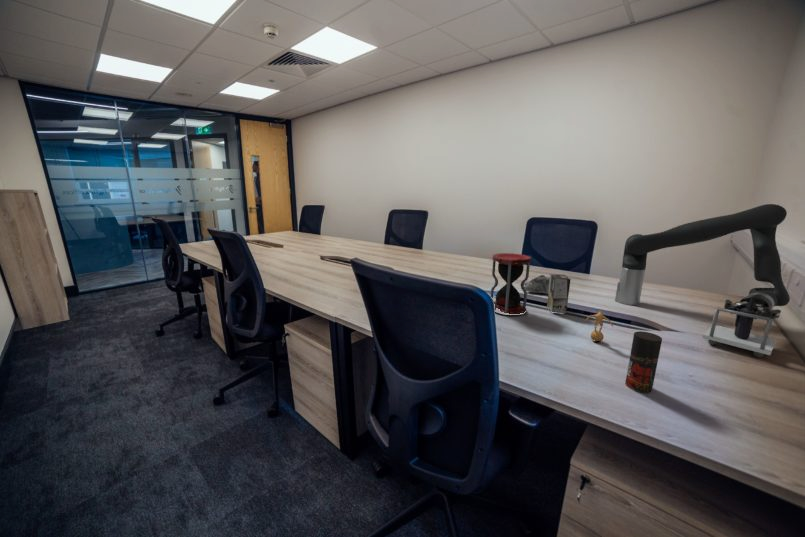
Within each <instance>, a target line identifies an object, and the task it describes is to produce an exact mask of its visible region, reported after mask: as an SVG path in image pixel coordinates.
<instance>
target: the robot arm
mask: <svg viewBox="0 0 805 537" xmlns="http://www.w3.org/2000/svg"><path fill="white" fill-rule="evenodd" d="M787 213H788V212H787V210H786V208H785V207H783V206H782V205H780V204H774V203H769V204H768V203H767V204H761V205H758V206H756V207H753V208H750V209H746V210H742V211H740V212H739V211H738V212H736V213H735V212H734V213H731V214H726V215H725V214H724V215H720V216H714V217H711V218H705V219H699V220H695V221H691V222H687V223H683V224H680V225H677V226H674V227H672V228H669V229H667V230H663V231H660V232H655V233H651V234H639V233H637V234H636V233H635V234H632V235H630V236H628V238H627V239H626V241H625V244H624V248H623V255H622V263H621V264H622V265H621V270H620V278H619V281H618V282H617V285H616V291H615V298H614V301H615V302H618V303H619V304H623V305H630V306H638V305H640V302H641V296H642V290H643V284H644V278H645V275H646V274H645V273H646V269H647V258H648V253H651V252H655V251H659V250H662V249H663V250H664V249H667V248H673V247H680V246H686V245H693V244H697V243H703V242H707V241H712V240H715V239H717V238H718V239H719V238H721V237H724V236H727V235H730V234H733V233H736V232H740V231H745V230H746V231H747V230H749V232H750V235H751V239H752V245H753V246H752V248H753V272H754V273H753V276H754V280H755V281H757V282H761V283H770V284H772V285H773V287H754V288H751V289H750V290H749V292H748V295H747V296H745V297H743V298H742V299H741V300H740V301H735V302H733V301H732V300H730V299H725V301H724V302H725V303H724V307H723V309H728V310H733V311H735V310H736V308H737V309H739V310H741V309H743V308H746V306H747V305H749V303H750V300H751V297H752V296H754V297H755V299H754V304H753V309H752V310H753V311H754V312H755V313H754V315H758V316H763V317H768V318H771V320H773V319H779V318H780V316H781V313H782V310H781V309H774V307H785V306H787V305H788V304H789V303H790V297H791V296H790V294H789V292H788V290H787V288H786V286H785V283H784V281H783V277H782V262H781V256H780V253H779V250H778V246H777V242H776V233H777V228H778V225H780V224H781V223H783V222H784V221H785V219H786V217H787ZM729 314H731V315H734V314H733V313H729ZM753 320H758V319H757V318H753Z"/></svg>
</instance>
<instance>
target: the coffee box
mask: <svg viewBox="0 0 805 537" xmlns="http://www.w3.org/2000/svg"><path fill="white" fill-rule="evenodd" d="M549 277H550V282H549V292H548V294H547V303H546V308H547V310H549V309H550V310H551V311H552V312H561V313H566V314H567V310H568V301H569V295H570V294H569V292H570V288H571V279H570V278H569V277H568V276H567V275H565V274H551V273H550V275H549Z"/></svg>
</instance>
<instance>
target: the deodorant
mask: <svg viewBox="0 0 805 537" xmlns="http://www.w3.org/2000/svg"><path fill="white" fill-rule="evenodd" d="M662 342H663V337H661V336H660V335H657V334H655V333H652V332H648V331H635V332H633V338H632V343H631V350H630V354H629V359H628V364H627V371H626V377H625V384H624V385H625V386H626V387H627V388H629V389H630V390H632V391H634V392H638V393H640V394H651V393H652V392H653V388H654V382H655V377H656V373H657V367H658V362H659V357H660V352H661V346H662Z"/></svg>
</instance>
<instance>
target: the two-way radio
mask: <svg viewBox="0 0 805 537" xmlns="http://www.w3.org/2000/svg"><path fill="white" fill-rule="evenodd" d="M754 299H755V297H754V296H752V297H751V300H750V303H749V305H747V306H746V308H743V309H741V310H739V309H737V308H736V310H735V311H738V312H743V313H748V314H753V315H754V313H755V312H754V311H753V310H752V309H753V304H754ZM735 315H736V317H735V322H734V327H735V329H734V330H735V332H734V334H735V336H737V337H739V338H742V339H748V338H749V336H750V333H752V328H753V323H754V322H753V321H754V319H753V318H752V317H747V316H742V315H737V314H735Z"/></svg>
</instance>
